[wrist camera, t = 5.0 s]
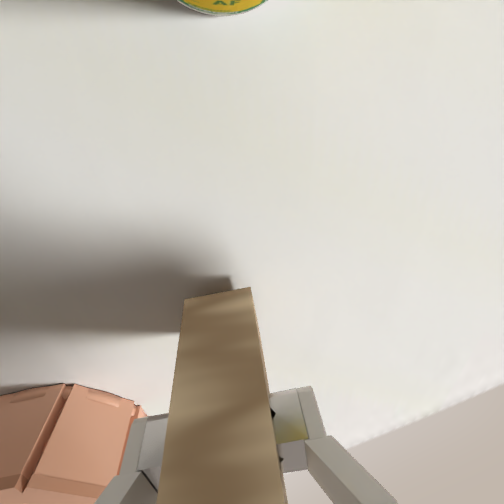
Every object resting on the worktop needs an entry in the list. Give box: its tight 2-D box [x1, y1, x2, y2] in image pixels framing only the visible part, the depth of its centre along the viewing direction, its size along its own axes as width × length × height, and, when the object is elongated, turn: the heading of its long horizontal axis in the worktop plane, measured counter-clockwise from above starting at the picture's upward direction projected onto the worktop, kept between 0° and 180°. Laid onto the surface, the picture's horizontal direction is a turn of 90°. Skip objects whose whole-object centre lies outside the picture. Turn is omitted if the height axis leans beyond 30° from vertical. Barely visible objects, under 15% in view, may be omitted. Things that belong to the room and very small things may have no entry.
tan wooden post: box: [156, 287, 288, 504], centre depth 10 cm, size 3×3×11 cm
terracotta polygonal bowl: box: [0, 384, 147, 504], centre depth 17 cm, size 10×10×5 cm
